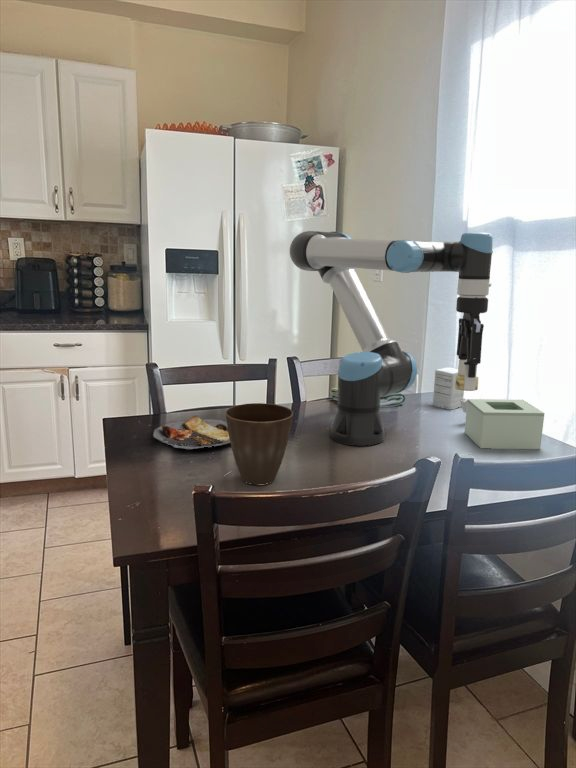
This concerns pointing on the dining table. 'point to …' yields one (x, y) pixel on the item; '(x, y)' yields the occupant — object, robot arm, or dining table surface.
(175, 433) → the food plate
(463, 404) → the lighter
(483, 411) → the box
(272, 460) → the plant pot
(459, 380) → the gold squat cylinder
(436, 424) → the dining table surface
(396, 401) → the towel
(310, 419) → the dining table surface
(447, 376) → the supplement box
